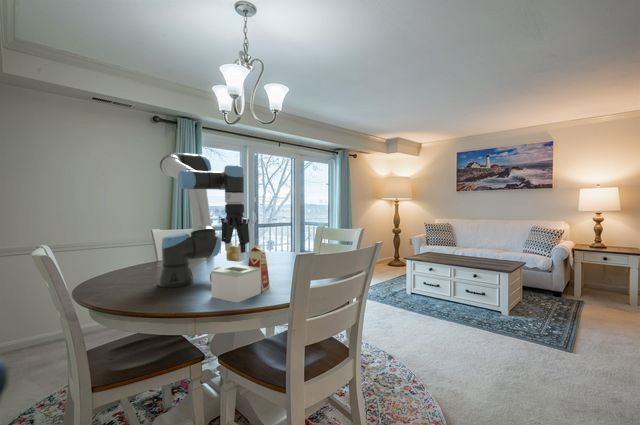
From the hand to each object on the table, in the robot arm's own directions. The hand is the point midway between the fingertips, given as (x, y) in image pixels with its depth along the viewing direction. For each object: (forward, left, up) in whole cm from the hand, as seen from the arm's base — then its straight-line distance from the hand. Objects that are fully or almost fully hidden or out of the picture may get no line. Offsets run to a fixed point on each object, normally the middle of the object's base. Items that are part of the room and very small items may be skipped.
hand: (235, 259), depth 137 cm
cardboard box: (0, 0, 0) cm, 0 cm away
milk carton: (0, +13, -15) cm, 20 cm away
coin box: (0, 0, -15) cm, 15 cm away
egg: (-18, +7, -15) cm, 25 cm away
